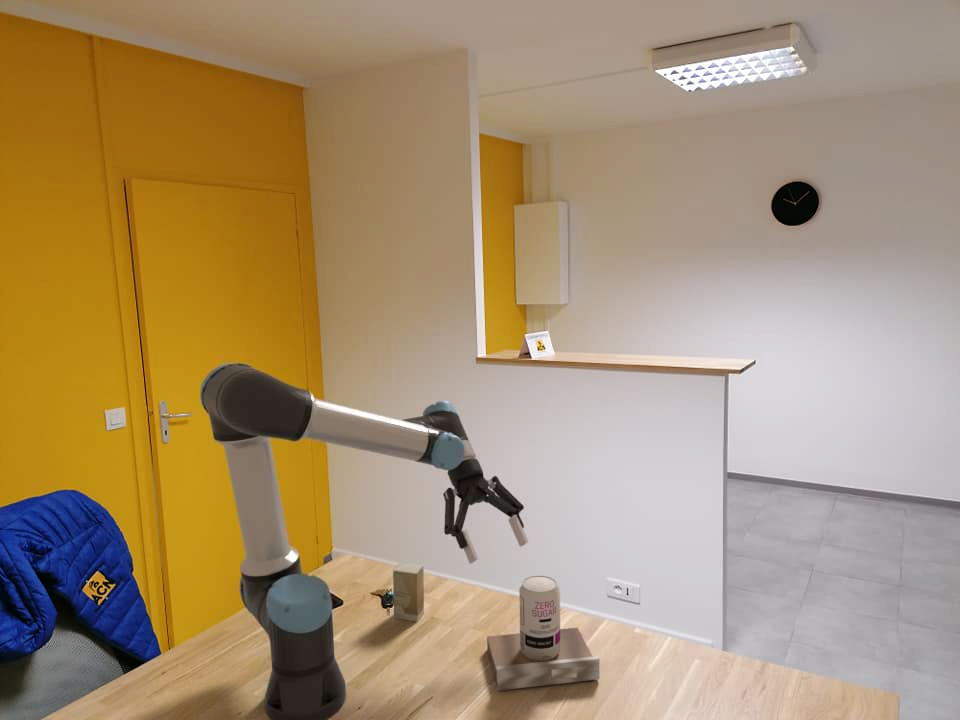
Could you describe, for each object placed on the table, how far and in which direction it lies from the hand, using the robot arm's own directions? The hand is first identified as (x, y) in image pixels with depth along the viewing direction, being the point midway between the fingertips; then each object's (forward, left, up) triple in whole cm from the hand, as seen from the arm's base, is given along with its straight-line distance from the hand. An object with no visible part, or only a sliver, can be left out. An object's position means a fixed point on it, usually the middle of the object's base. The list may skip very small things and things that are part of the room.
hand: (499, 552), depth 150 cm
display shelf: (+6, -9, -21) cm, 24 cm away
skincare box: (-20, +15, -21) cm, 32 cm away
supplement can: (+6, -10, -18) cm, 21 cm away
